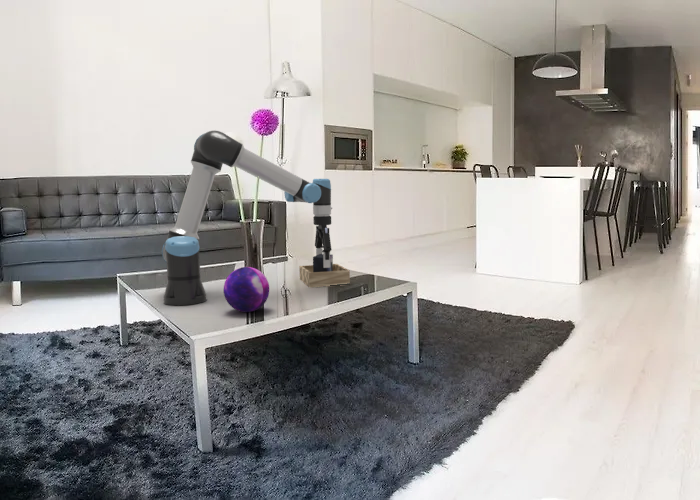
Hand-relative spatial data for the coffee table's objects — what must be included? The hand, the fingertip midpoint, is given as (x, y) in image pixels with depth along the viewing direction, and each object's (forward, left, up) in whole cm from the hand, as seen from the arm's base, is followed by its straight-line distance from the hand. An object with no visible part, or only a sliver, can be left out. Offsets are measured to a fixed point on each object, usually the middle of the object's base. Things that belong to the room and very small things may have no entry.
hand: (323, 265), depth 244 cm
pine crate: (0, 0, -7) cm, 7 cm away
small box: (0, 0, -6) cm, 6 cm away
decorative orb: (-45, +37, -7) cm, 59 cm away
